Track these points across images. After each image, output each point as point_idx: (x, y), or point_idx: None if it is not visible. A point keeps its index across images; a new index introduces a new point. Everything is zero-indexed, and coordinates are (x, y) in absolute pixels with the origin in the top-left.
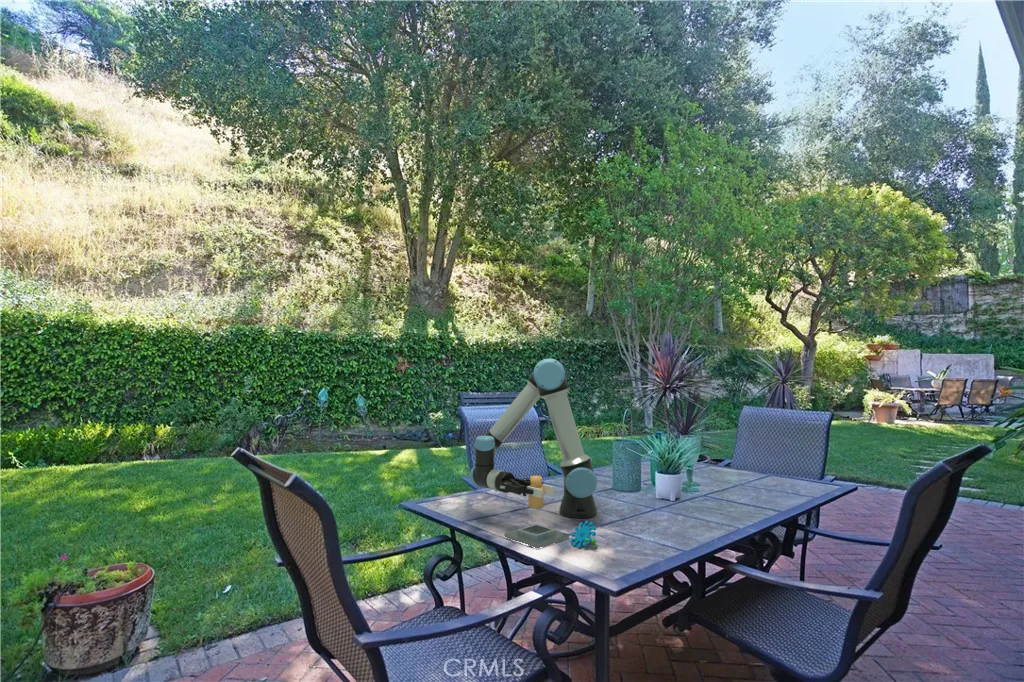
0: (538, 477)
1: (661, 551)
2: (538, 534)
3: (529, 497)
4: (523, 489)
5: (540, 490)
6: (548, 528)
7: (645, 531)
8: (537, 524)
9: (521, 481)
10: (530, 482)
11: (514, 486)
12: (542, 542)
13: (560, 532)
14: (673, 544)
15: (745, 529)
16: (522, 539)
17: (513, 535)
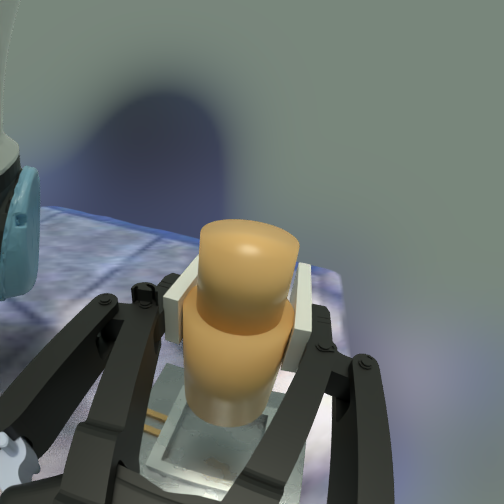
0: (264, 226)
1: (174, 250)
2: (264, 412)
3: (275, 377)
4: (337, 355)
5: (310, 268)
6: (181, 409)
7: (77, 266)
8: (149, 458)
9: (117, 463)
10: (278, 301)
11: (383, 403)
12: (281, 396)
13: (160, 386)
14: (137, 243)
15: (67, 209)
16: (301, 454)
17: (287, 500)
